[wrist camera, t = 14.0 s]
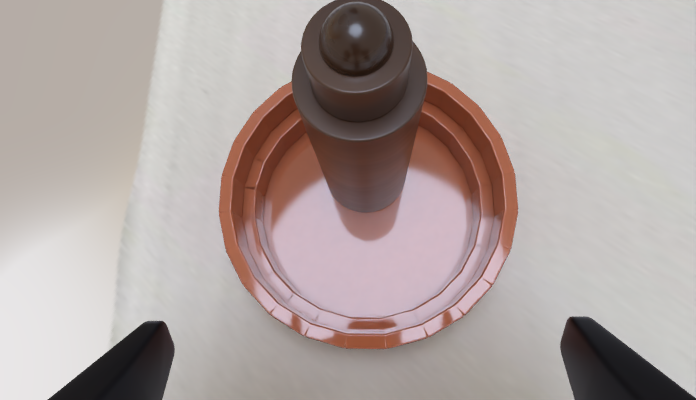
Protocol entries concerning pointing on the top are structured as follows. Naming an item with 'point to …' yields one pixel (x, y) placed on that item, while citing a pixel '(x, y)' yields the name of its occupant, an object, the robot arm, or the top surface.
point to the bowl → (370, 226)
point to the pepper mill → (360, 99)
